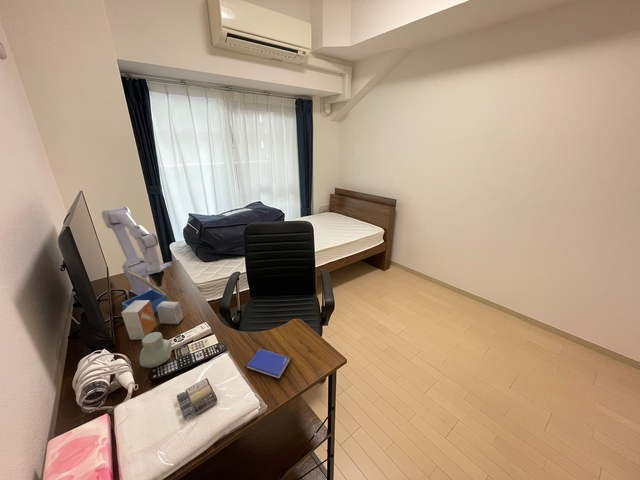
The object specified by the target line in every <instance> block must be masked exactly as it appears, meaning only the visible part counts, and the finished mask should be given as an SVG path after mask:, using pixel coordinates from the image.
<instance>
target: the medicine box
mask: <svg viewBox="0 0 640 480" xmlns="http://www.w3.org/2000/svg"><path fill="white" fill-rule="evenodd" d="M156 309H157V312H156V313H157V315H158V318H159V322H160V324H166V325H167V324H168V325H179V324H180V322H182V321H183V319H184V315H183V314H184V313H183V311H182V306H181V304H180V302H179V301H168V302H167V301H163V302H161V303H160V304H159V305H158V306H157V307H156Z"/></svg>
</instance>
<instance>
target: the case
mask: <svg viewBox="0 0 640 480" xmlns="http://www.w3.org/2000/svg"><path fill="white" fill-rule="evenodd" d="M135 300H150V302H151V306H152V310H153V313H154V314H157V313H158V312H157V309H156V307H157V306H158V305H159V304H160V303H161V302H163V301H167V302H169V301H168V297H167V294H166V295H164V294H162V293H160V292H158V291H156V290H153V289H151V290H149V291H147V292H145V293H142V294H140V295H136V296H134V297H131V298H129V299H127V300H125V301H122V302H120V305H121V307H122V311H124V310H125V309H126V308H127V307H128V306H129V305H130V304H131V303H133V302H134V301H135Z"/></svg>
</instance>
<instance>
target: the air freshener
mask: <svg viewBox="0 0 640 480" xmlns="http://www.w3.org/2000/svg"><path fill="white" fill-rule="evenodd" d="M141 344H142V349H141V350H140V354H139V359H138V360H139V365H140V366H141V367H143V368H148V369H151V368H155V367H159V366H161V365H163V364H164V363H166V362H167V361H168V360H169V359H170V358H171V355H172V349H173V348H172V347H173V346H172V342H171V341H170V340H169V339H165V338H163V335H162V333H161V332H159V331H154V332H153V331H152V332H151V333H150V334H148V335H146V336H145V337H144V338H143V339H141Z"/></svg>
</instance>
